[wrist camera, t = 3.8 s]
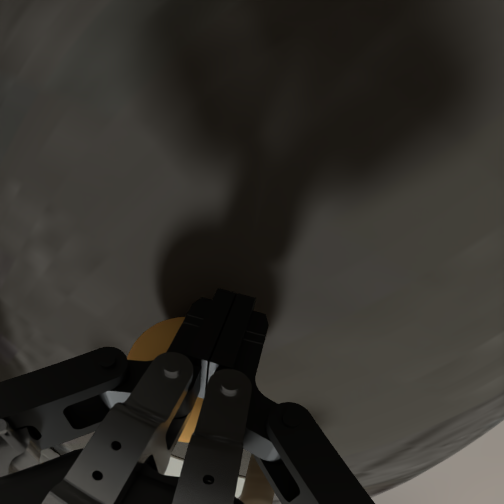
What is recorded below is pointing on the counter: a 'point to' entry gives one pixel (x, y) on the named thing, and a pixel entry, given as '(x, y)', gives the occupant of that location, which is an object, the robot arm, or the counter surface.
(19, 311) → the counter surface
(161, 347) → the ball
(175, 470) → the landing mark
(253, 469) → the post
